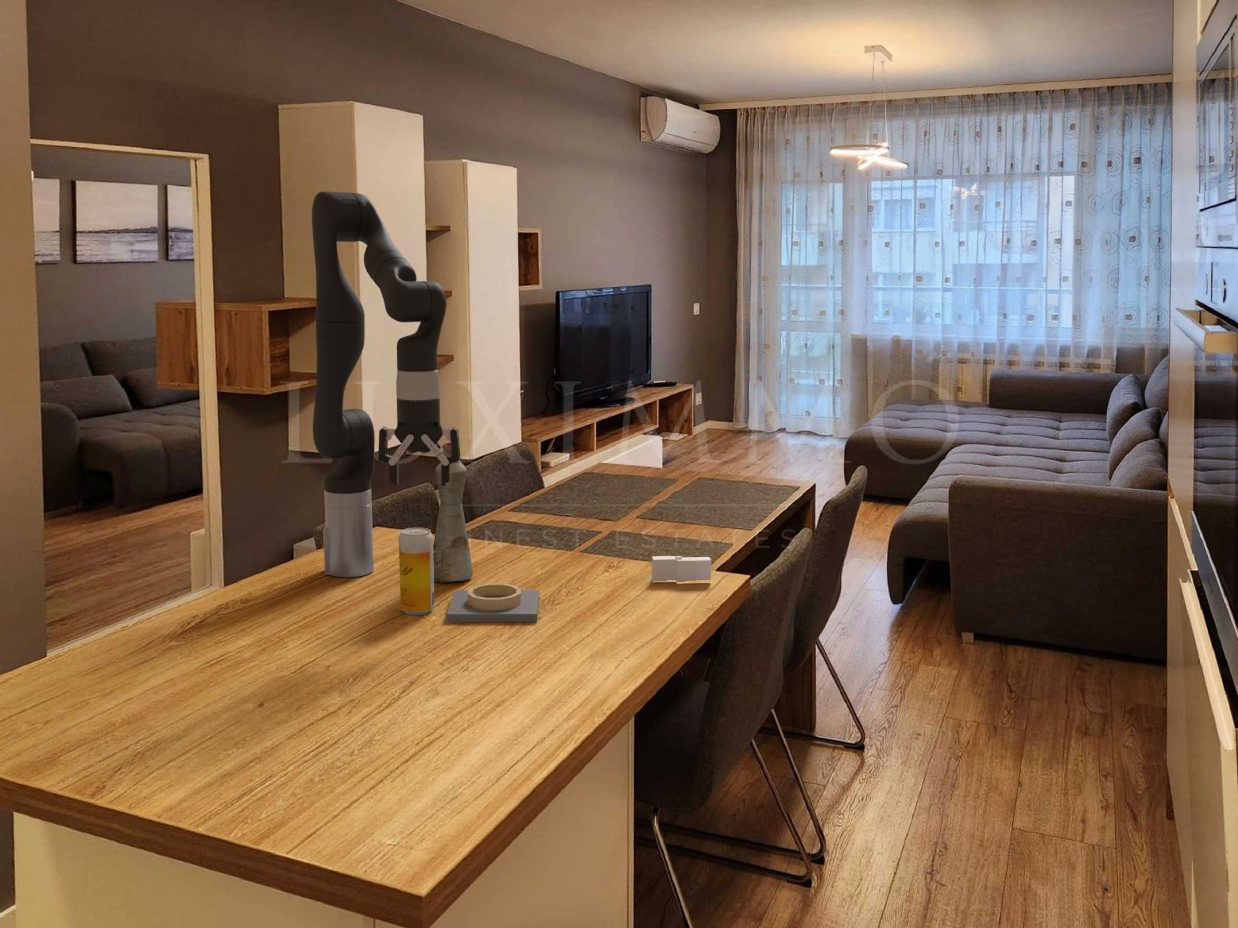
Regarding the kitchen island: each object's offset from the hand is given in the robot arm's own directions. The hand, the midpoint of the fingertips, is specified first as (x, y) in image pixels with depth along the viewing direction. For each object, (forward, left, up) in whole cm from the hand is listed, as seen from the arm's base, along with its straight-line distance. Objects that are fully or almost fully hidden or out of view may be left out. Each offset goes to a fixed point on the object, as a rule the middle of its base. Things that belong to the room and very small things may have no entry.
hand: (420, 485), depth 199 cm
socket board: (+13, 0, -23) cm, 27 cm away
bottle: (+3, +19, -24) cm, 31 cm away
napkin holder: (+49, +18, -24) cm, 57 cm away
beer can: (-1, -1, -24) cm, 24 cm away
